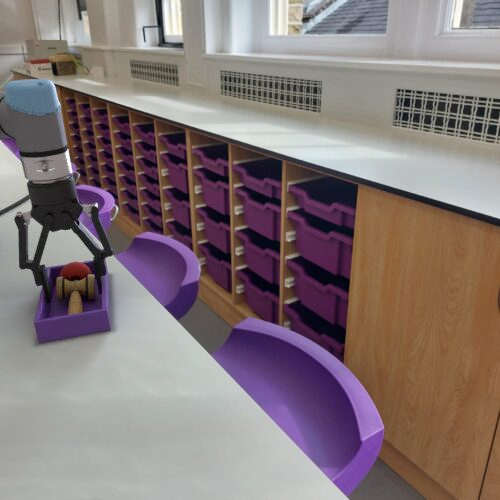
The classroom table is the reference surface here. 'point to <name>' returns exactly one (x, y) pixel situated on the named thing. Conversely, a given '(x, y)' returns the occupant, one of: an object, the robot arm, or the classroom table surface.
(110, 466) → the classroom table surface
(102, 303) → the tote
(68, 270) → the kendama
